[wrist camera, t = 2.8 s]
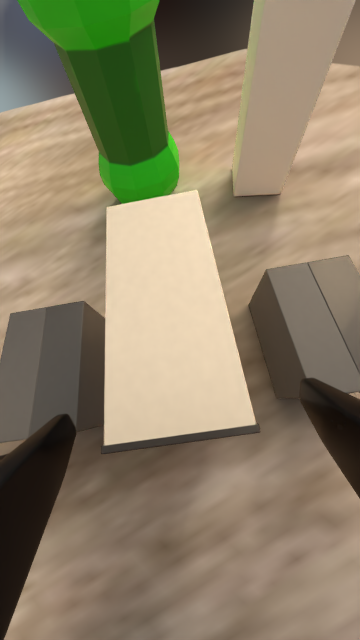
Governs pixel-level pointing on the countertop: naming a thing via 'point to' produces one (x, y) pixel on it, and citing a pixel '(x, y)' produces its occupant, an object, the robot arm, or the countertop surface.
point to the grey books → (270, 322)
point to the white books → (8, 447)
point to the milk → (282, 86)
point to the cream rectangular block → (168, 331)
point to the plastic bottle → (116, 88)
